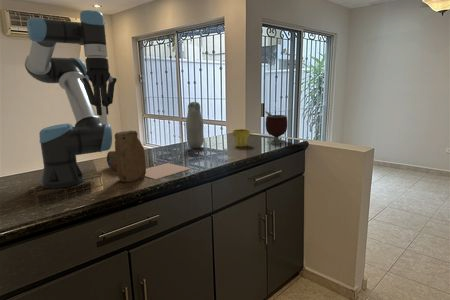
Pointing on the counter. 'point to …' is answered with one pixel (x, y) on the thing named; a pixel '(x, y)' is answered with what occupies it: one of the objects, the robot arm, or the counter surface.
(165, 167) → the pad
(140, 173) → the block
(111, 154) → the mottled brown rounded slab
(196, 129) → the grey bottle
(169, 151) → the counter surface
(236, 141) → the plant pot
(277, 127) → the mate gourd
